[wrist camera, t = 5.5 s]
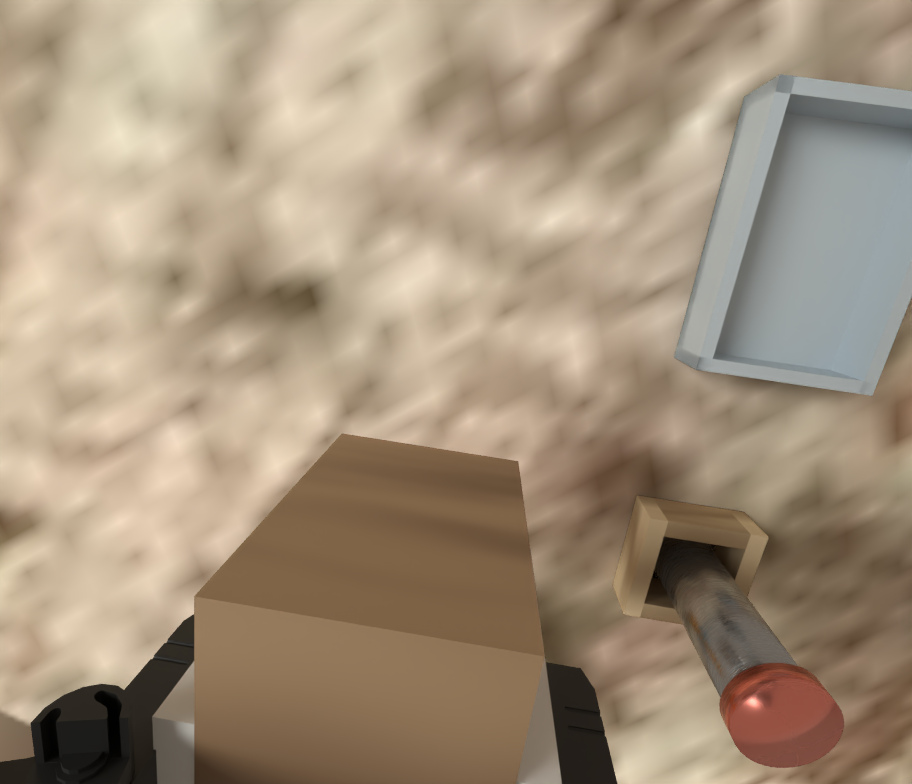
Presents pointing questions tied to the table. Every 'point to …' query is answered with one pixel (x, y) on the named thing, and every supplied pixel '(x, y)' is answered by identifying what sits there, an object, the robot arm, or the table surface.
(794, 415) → the table surface
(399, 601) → the block
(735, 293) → the tray
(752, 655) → the pin
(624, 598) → the socket block
